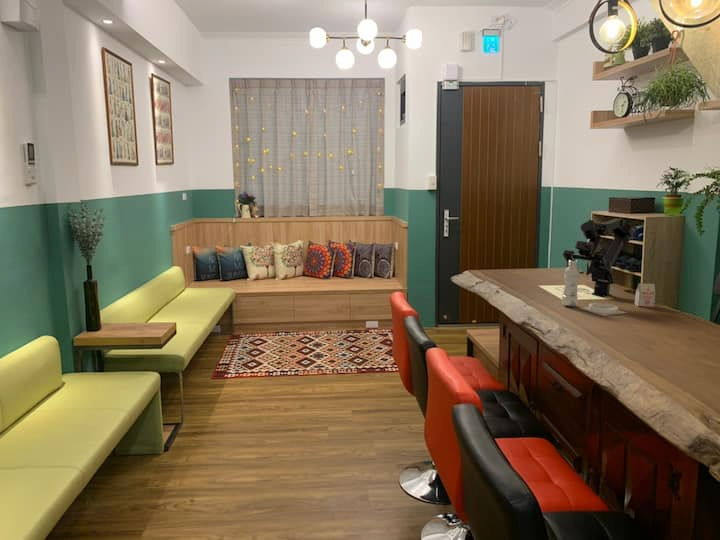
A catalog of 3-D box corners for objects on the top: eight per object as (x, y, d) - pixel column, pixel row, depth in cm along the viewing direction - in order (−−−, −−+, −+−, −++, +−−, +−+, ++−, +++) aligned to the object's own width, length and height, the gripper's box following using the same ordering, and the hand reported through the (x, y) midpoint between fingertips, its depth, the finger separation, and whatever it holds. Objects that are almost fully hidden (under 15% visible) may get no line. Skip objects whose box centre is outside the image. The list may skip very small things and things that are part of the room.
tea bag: (634, 304, 254) (636, 282, 252) (649, 305, 254) (652, 283, 252) (638, 306, 250) (640, 284, 248) (653, 307, 250) (656, 284, 248)
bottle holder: (602, 306, 250) (602, 301, 250) (626, 313, 238) (627, 308, 238) (579, 308, 245) (579, 303, 245) (603, 315, 233) (603, 310, 233)
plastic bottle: (577, 305, 251) (581, 260, 247) (576, 308, 245) (580, 262, 241) (562, 303, 254) (565, 258, 250) (560, 306, 248) (564, 261, 244)
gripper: (566, 232, 260) (551, 259, 256) (606, 236, 247) (591, 264, 242) (574, 247, 267) (559, 274, 262) (613, 252, 253) (599, 280, 248)
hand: (576, 273), depth 253 cm, fingers open, 9 cm apart
